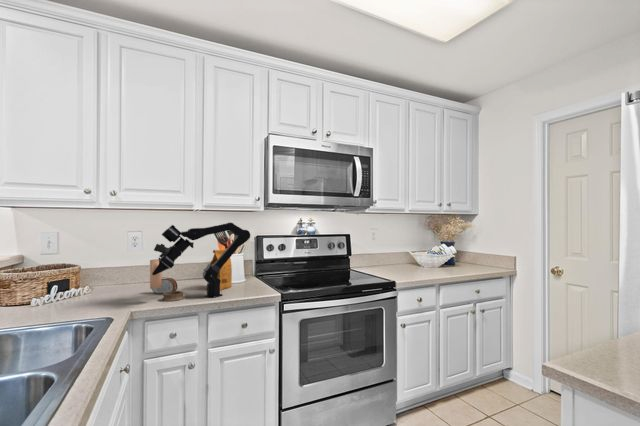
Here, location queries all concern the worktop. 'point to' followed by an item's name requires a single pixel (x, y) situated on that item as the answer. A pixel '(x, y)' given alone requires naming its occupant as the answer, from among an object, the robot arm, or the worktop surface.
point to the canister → (155, 279)
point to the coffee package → (223, 270)
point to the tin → (166, 286)
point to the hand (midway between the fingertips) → (152, 273)
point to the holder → (173, 296)
